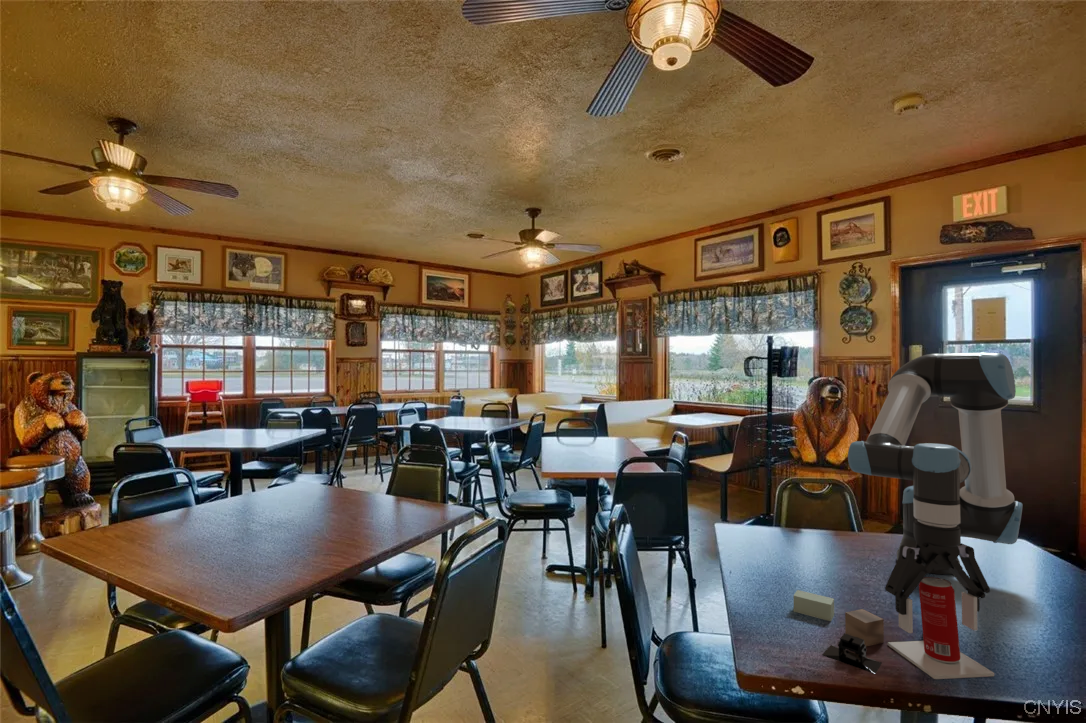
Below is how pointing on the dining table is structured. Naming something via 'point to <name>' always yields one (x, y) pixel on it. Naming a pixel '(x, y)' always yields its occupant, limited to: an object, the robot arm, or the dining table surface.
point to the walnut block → (865, 626)
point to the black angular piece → (852, 654)
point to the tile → (936, 668)
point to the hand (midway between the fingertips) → (937, 628)
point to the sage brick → (814, 605)
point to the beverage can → (939, 620)
